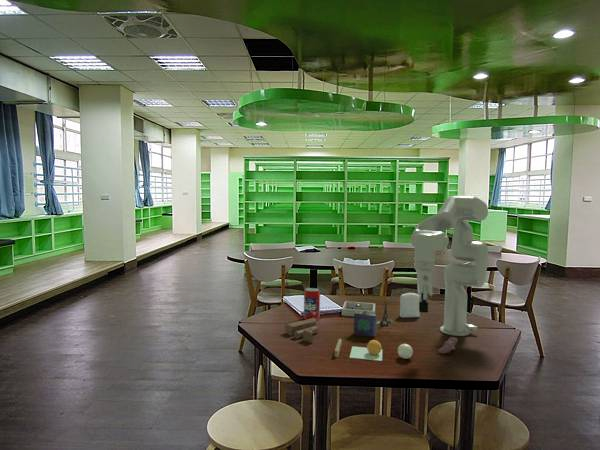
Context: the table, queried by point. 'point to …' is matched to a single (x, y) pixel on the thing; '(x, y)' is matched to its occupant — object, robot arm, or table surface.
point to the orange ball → (374, 347)
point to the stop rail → (338, 348)
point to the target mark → (364, 354)
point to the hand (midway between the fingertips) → (423, 311)
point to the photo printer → (409, 305)
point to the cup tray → (352, 305)
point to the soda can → (311, 303)
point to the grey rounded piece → (358, 306)
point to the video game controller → (448, 345)
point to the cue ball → (405, 351)
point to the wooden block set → (302, 329)
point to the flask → (365, 324)
